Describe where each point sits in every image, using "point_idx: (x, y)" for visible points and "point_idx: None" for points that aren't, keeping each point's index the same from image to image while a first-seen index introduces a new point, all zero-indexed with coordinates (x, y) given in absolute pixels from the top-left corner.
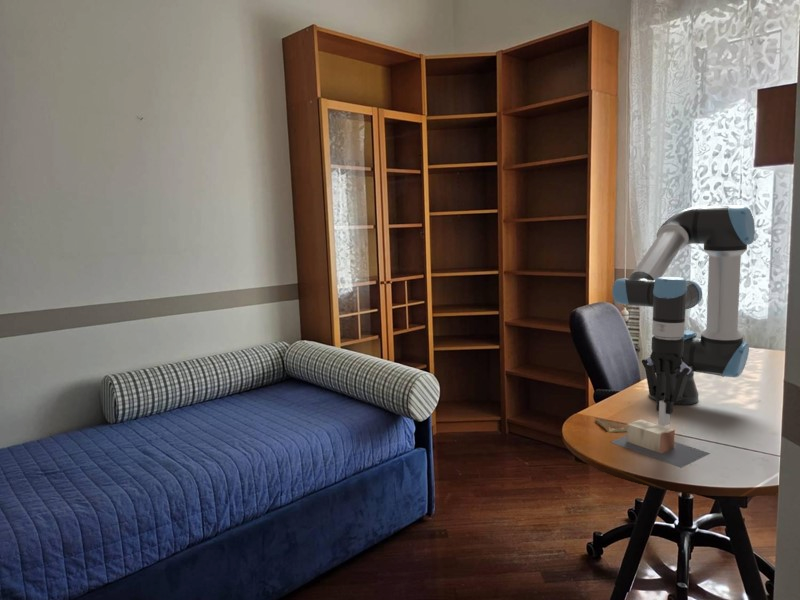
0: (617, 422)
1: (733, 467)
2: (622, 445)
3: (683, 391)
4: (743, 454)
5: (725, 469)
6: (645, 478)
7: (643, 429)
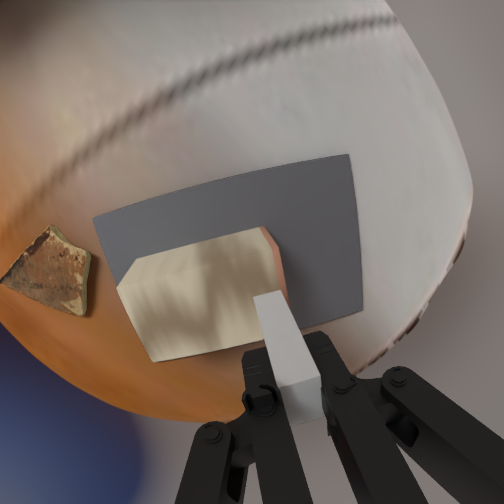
0: (31, 250)
1: (415, 176)
2: None
3: (453, 404)
4: (377, 68)
5: (413, 206)
6: None
7: (217, 349)
